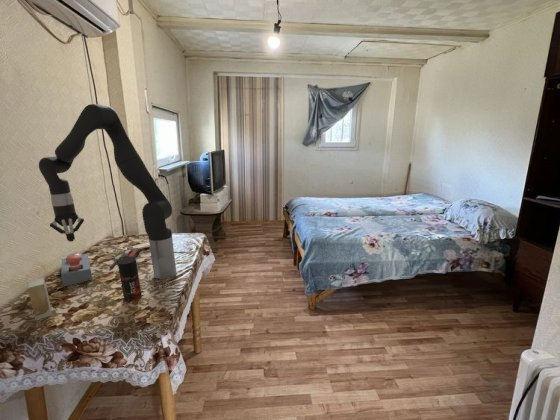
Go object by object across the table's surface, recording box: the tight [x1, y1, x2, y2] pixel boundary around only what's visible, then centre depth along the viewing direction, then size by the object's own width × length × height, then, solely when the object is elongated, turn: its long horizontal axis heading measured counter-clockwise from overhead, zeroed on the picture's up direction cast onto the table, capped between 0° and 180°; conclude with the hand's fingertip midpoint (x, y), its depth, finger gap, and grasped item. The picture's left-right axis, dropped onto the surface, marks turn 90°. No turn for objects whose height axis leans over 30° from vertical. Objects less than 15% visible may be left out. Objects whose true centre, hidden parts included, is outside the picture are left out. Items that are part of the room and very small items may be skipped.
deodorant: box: [117, 257, 142, 303], centre depth 109 cm, size 6×6×15 cm
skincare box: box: [27, 277, 52, 321], centre depth 100 cm, size 6×4×12 cm
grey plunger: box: [66, 252, 83, 258], centre depth 134 cm, size 6×6×6 cm
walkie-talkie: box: [109, 247, 141, 269], centre depth 144 cm, size 9×4×20 cm
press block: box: [60, 253, 93, 287], centre depth 130 cm, size 20×10×5 cm, turn 35°
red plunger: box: [65, 255, 82, 271], centre depth 124 cm, size 6×6×6 cm
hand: (71, 240), depth 131 cm, fingers closed
